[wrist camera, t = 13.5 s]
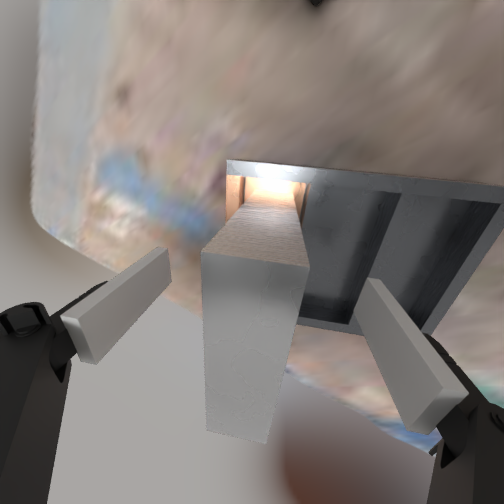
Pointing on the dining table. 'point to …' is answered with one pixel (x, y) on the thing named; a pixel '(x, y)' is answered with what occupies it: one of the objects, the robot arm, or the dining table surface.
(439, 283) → the slot rack
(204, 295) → the panel
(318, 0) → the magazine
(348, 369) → the dining table surface
